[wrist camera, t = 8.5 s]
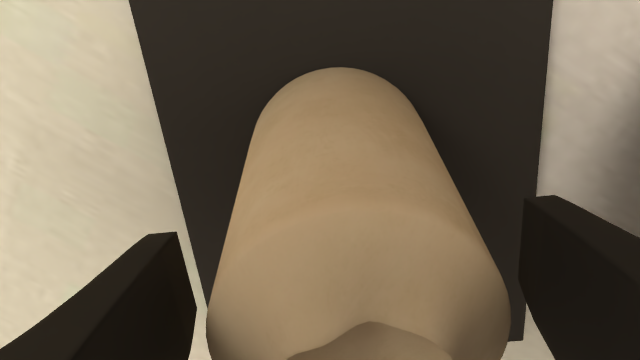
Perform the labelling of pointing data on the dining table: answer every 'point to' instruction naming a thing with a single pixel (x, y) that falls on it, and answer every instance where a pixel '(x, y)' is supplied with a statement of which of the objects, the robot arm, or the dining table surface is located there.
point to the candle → (352, 237)
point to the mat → (364, 54)
